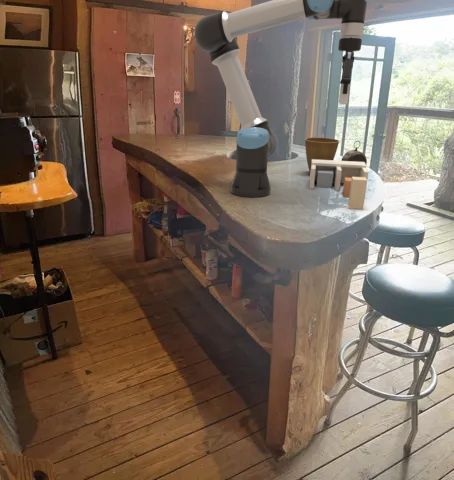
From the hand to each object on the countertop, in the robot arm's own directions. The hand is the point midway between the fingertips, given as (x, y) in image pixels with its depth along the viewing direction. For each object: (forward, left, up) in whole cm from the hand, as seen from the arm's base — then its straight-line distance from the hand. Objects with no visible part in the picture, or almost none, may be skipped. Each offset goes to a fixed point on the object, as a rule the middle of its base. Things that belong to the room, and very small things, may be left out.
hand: (342, 103), depth 146 cm
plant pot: (-5, +29, -33) cm, 44 cm away
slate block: (-3, +9, -33) cm, 34 cm away
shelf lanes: (+2, +9, -33) cm, 34 cm away
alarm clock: (+10, +28, -33) cm, 44 cm away
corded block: (+7, -12, -33) cm, 35 cm away
